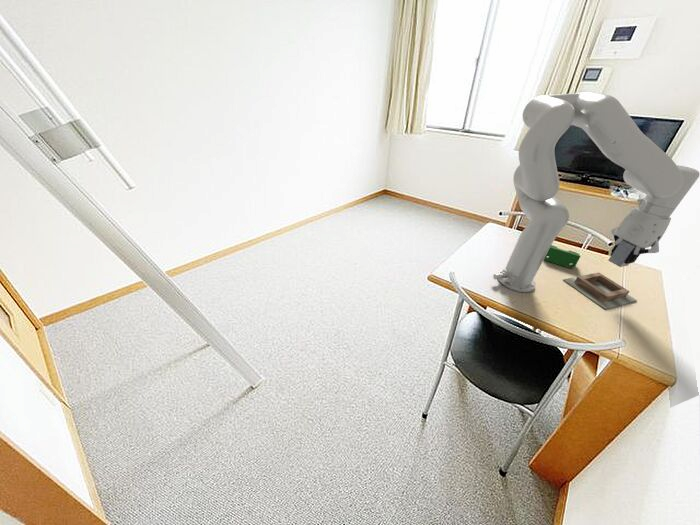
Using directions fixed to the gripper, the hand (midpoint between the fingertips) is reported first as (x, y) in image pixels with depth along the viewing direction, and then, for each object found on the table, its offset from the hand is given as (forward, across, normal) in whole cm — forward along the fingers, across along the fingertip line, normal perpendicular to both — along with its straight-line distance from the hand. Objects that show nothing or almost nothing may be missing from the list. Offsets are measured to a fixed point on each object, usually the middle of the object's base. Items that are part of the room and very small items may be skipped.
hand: (621, 258), depth 100 cm
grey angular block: (+2, 0, 0) cm, 2 cm away
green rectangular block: (+14, -19, +2) cm, 24 cm away
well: (+14, 0, 0) cm, 14 cm away
